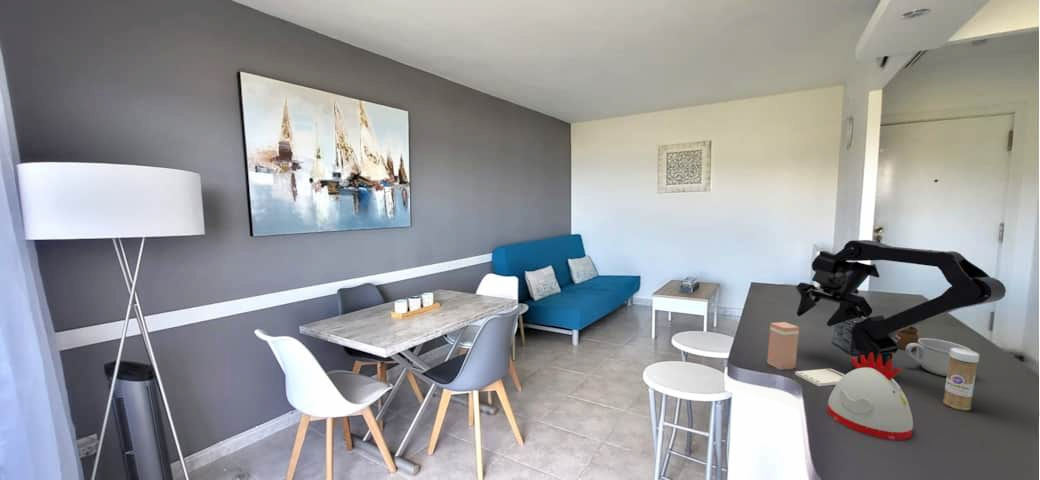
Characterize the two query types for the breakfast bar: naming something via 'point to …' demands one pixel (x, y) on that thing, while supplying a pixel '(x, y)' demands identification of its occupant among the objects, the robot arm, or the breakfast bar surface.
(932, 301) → the robot arm
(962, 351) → the sprinkles bottle
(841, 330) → the small box
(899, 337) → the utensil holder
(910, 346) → the teacup
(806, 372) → the ticket strip
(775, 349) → the carton
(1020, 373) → the breakfast bar surface
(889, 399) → the kitchen timer
